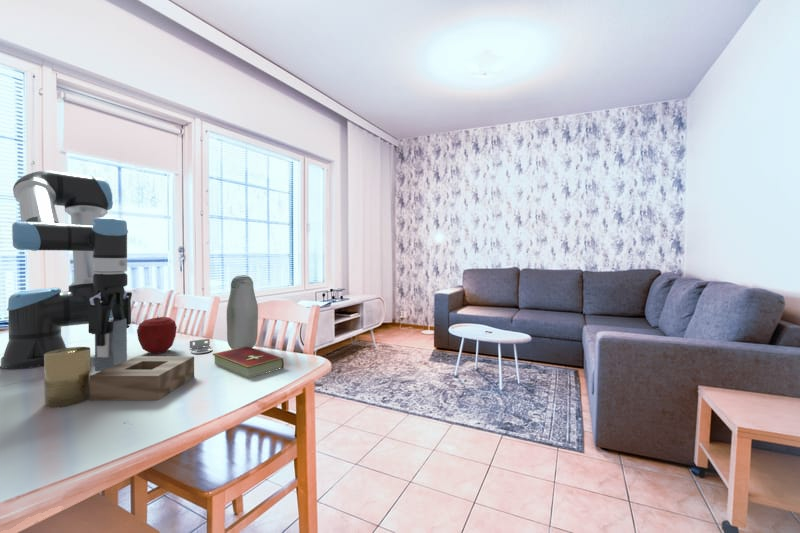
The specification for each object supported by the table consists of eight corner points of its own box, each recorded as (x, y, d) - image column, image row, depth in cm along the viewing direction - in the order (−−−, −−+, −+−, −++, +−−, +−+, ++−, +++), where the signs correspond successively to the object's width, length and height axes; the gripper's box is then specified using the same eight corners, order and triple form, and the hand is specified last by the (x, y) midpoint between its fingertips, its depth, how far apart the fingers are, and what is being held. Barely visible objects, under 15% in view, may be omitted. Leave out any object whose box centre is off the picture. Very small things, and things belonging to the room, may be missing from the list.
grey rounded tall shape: (235, 347, 133) (235, 274, 132) (261, 347, 133) (262, 274, 132) (221, 354, 123) (221, 275, 122) (249, 355, 123) (250, 276, 122)
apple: (157, 347, 131) (156, 312, 131) (185, 348, 130) (184, 313, 129) (128, 356, 119) (127, 317, 119) (158, 358, 118) (158, 319, 117)
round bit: (66, 393, 88) (65, 346, 87) (99, 393, 88) (98, 346, 87) (34, 407, 80) (33, 356, 79) (71, 407, 80) (70, 356, 80)
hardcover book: (247, 357, 122) (247, 345, 122) (283, 369, 109) (283, 356, 109) (212, 365, 112) (212, 352, 112) (247, 380, 100) (247, 366, 100)
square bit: (109, 365, 102) (108, 318, 102) (126, 365, 102) (126, 318, 102) (95, 371, 97) (94, 321, 97) (113, 371, 97) (113, 322, 97)
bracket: (192, 356, 121) (192, 346, 121) (189, 350, 130) (189, 340, 129) (213, 353, 125) (213, 344, 125) (209, 347, 133) (209, 338, 133)
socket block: (137, 376, 100) (137, 356, 100) (194, 376, 101) (194, 356, 100) (90, 400, 84) (89, 375, 84) (158, 400, 85) (158, 375, 85)
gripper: (98, 275, 90) (99, 364, 91) (145, 271, 108) (146, 345, 109) (68, 274, 89) (69, 363, 90) (120, 270, 107) (121, 344, 108)
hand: (111, 353), depth 100 cm, fingers closed on square bit, 5 cm apart
